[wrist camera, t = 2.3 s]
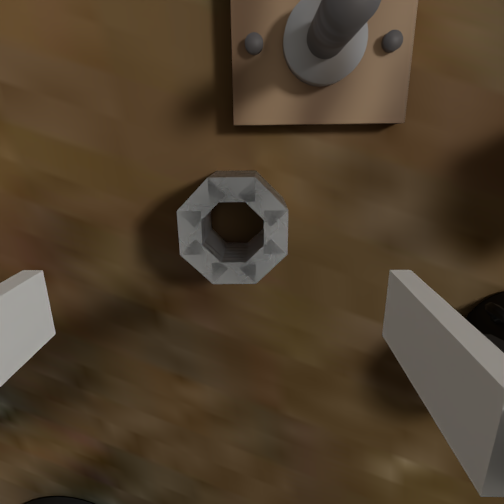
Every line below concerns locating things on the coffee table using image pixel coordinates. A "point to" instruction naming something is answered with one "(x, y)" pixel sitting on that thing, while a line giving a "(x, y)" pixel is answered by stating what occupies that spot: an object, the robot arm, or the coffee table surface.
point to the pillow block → (321, 61)
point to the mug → (489, 316)
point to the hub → (234, 253)
